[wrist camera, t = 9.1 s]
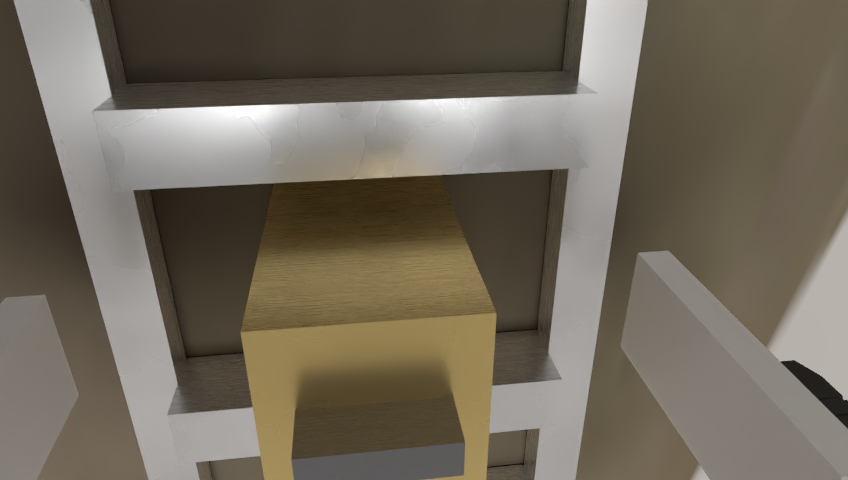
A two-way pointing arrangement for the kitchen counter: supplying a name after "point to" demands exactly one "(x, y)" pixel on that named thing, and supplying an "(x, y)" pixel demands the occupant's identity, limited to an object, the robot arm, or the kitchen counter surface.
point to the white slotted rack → (335, 160)
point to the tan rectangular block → (368, 335)
